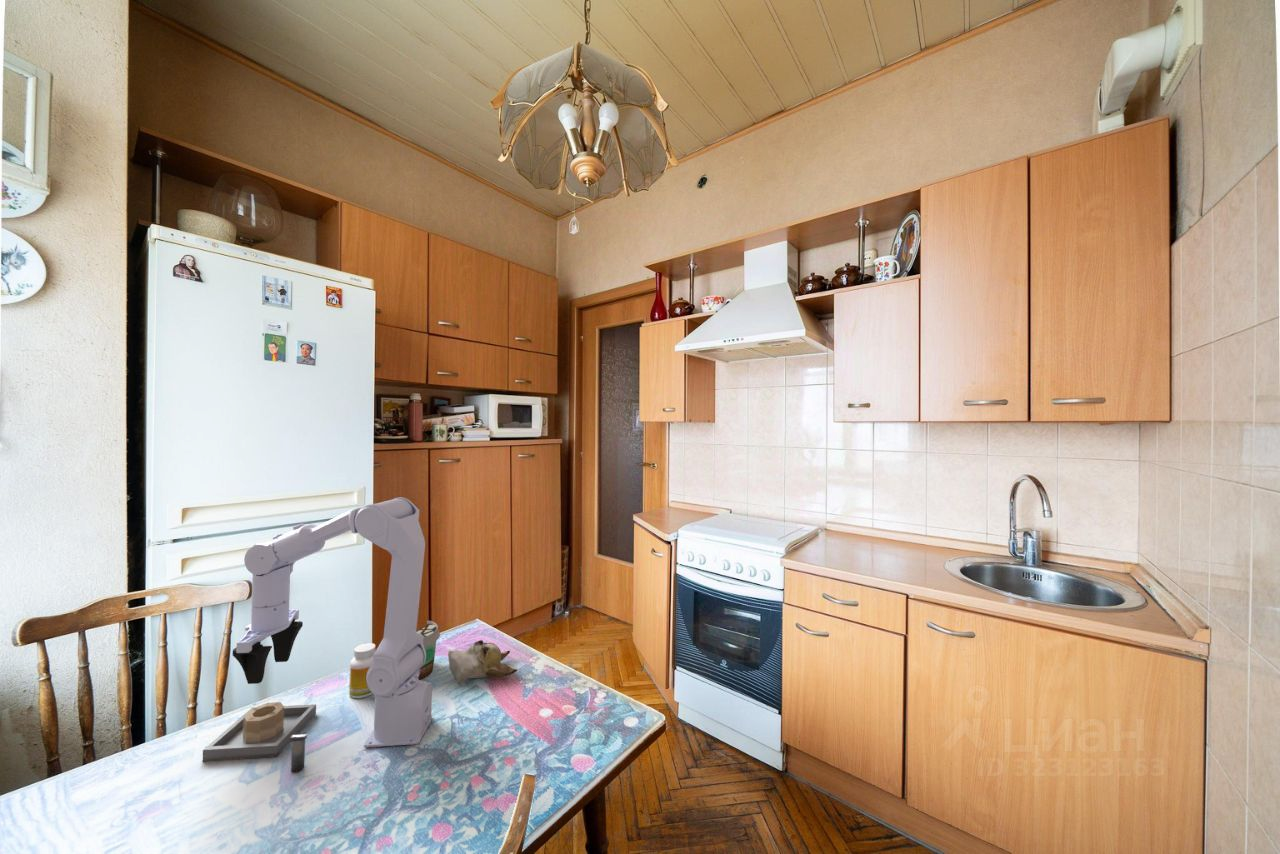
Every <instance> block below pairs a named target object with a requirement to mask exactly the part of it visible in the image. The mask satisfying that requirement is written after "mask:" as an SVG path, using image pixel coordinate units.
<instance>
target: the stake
mask: <svg viewBox="0 0 1280 854" xmlns="http://www.w3.org/2000/svg"><path fill="white" fill-rule="evenodd" d="M307 735H308V734H307V733H306V734H305V733H304V734H297V735H292V736H291V737H290V741H291V752H290V753H291V755H290V757H291V758H290V759H291V760H290V773H292V774H296V773H299V772H301V771H303V770H304V768H305V756H306V753H305V752H306V751H305V750H306V739H307V738H308V736H307Z"/></svg>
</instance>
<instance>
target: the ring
mask: <svg viewBox="0 0 1280 854" xmlns="http://www.w3.org/2000/svg"><path fill="white" fill-rule="evenodd" d="M284 706H285V705H283V703H282V702H281V701H277V702H274V701H273V702H266V703H263V704H261V705H258V706H255V708H252V707H251V708H252V709H251V708H250V709H251V710H250V709H249V710H250V711H249V710H248V711H249V712H248V711H247V712H248V713H247V712H246V713H247V714H246V715H244V714H243V715H244V722H243V739H244V741H245V742H246V744H247V743H260V742H263V741H265V740H268V739H270V738H272V737H275V736H276V735H277V734H278V733H279V732H280V731H281V730H282V729H283V728H284Z"/></svg>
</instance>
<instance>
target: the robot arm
mask: <svg viewBox="0 0 1280 854" xmlns="http://www.w3.org/2000/svg"><path fill="white" fill-rule="evenodd" d="M419 519H420V509H419V508H418V507H417V506H416V505H415V504H414V503H413V502H412V501H411V500H410V499H408V498H407V497H394V498H392V499H389V500H385V501H381V502H378V503H372V504H371V503H369V504H366V505H363V506H361V507H357V508H354V509H349V510H348V511H346V512H344V513H341V514H340V515H338V516H336V517H334V518H332V519H330V520H328V521H326V522H324V523H321V524H319V525H316V524H312V523H310V524H309V523H308V524H305V523H299V524H297V525H296V524H295V525H294V526H292V531H289V532H287V533H284V534H283V533H279V534H277V535H276V534H275V535H274V536H273V537H272V540H271V541H266V542H263V543H255V544H254V545H253V546H251V547H250V548H248V549H247V550H246V552H245V555H244V560H243V561H244V566H245V568H246V570H247V571H248V572H249V573H251V574H252V576H251V577H252V579H251V580H252V583H251V615H250V616H251V623H249V624H248V625H246V626H245V627H244V631H246V633H245V634H244V635H243V637H241V639H240V640H238V641H237V642H236V646H235V648H233V649H232V657H233V658H235V659H236V660H237V661H238V663H239V665H240V666H241V669H242V671H243V673H244V676H245V680H246V682H247V684H248V685H251V684H252V685H253V684H255V685H256V684H257V685H258V684H261V683H262V681H263V679H264V676H265V669H266V668H265V667H266V663H267V659H268V656H269V654H270V652H271V650H272V648H273V657H274V661H275V663H286V662H288V661H289V660H290V657H291V653H292V650H293V647H294V644H295V640H296V638H297V636H298V634H299V632H300V631H301V629H302V627H303V621H302V620H301V621H300V620H299V621H297V620H298V619H299V615H300V609H298V608H297V609H290V588H291V574H292V572H294V571H293V570H294V565H295V563H296V562H298V561H300V560H302V559H304V558H306V557H309V556H311V555H314V554H316V553H317V552H320V551H322V549H323V548H324V547H325V545H326V541H328V540H332V539H333V538H336V537H338V536H341V535H342V534H345V533H347V532H350V531H351V533H352V534H355V535H356V534H359V535H360V536H361V537H362V538H364V539H365V540H368V541H369V542H371V543H373V544H374V545H376V546H378V547H379V548H382V549H383V550H386V551H387V552H388V553H390V555H391V562H390V573H389V579H388V590H387V600H386V609H385V610H386V611H385V619H384V620H385V621H384V630H383V637H382V639H381V642H380V643H379V644H378V647H377V648H376V650H375V653H374V655H373V662H372V665H371V667H370V668H369V670H368V672H367V675H366V682H367V686H368V688H369V689H370V691H371V692H372V693H373V694H372V695H373V696H374V714H373V715H374V716H373V717H374V718H373V720H374V721H373V725H374V726H373V730H372V732H371V734H370V735H369V737H367V739H366V741H365V742H364V744H363V747H364V748H373V747H391V746H392V747H394V746H407V745H408V746H409V745H418V744H419V743H420V742H421V740H422V738H423V736H424V734H425V732H426V730H427V728H428V726H429V724H430V722H431V721H432V719H433V714H432V703H433V702H432V701H433V686H432V683H431V682H426V681H423V680H418V676H419V669H420V668H421V667H422V666H423V665H424V663H425V660H426V651H425V648H424V645H423V638H424V636H423V635H421V634H420V633H418V632H416V631H417V630H418V629H417V626H418V618H419V617H418V616H419V610H420V609H419V608H420V597H421V589H422V579H423V571H424V561H425V553H426V552H425V550H426V540H425V537H424V536H425V535H424V534H423V531H422V528H421V525H420V522H419ZM268 637H270V638H271V640H272V645H264V643H262V641H264V640H265V639H267V638H268Z"/></svg>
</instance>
